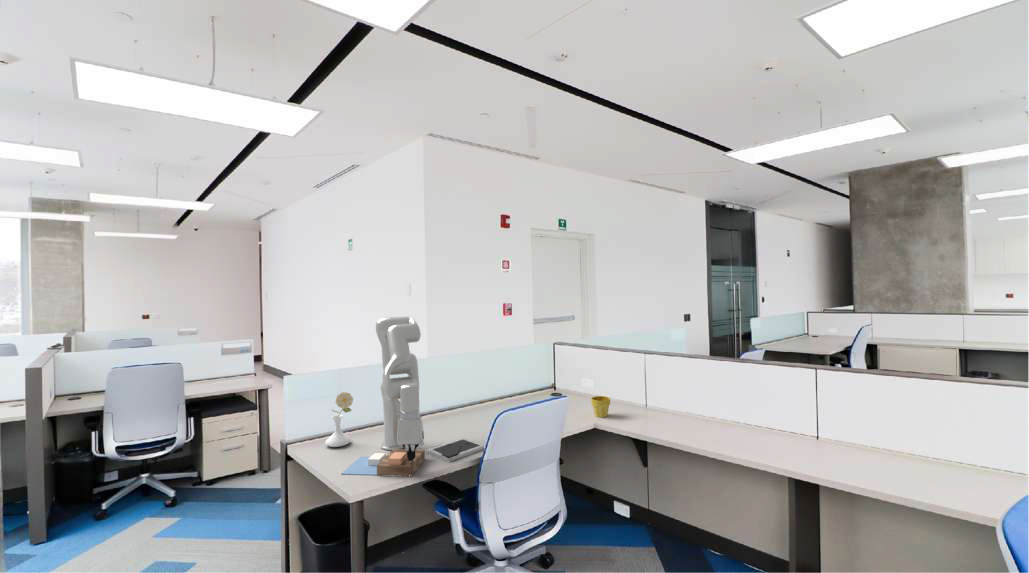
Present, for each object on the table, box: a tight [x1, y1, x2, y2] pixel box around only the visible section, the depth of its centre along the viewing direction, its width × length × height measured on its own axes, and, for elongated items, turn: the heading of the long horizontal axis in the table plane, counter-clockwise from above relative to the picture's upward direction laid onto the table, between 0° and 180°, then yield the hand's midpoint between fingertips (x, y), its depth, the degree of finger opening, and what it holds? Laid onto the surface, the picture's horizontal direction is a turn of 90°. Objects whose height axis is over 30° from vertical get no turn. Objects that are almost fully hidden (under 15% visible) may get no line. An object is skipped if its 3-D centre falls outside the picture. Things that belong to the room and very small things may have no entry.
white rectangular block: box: [368, 452, 387, 465], centre depth 204 cm, size 7×5×2 cm
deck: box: [376, 448, 426, 477], centre depth 199 cm, size 18×14×4 cm
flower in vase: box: [325, 391, 354, 448], centre depth 227 cm, size 13×11×25 cm
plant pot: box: [590, 395, 611, 418], centre depth 265 cm, size 10×10×10 cm
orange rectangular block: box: [388, 452, 407, 465], centre depth 195 cm, size 7×5×2 cm
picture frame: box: [426, 437, 486, 462], centre depth 216 cm, size 16×3×21 cm
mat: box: [341, 456, 378, 476], centre depth 201 cm, size 18×15×1 cm
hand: (411, 459), depth 194 cm, fingers closed
